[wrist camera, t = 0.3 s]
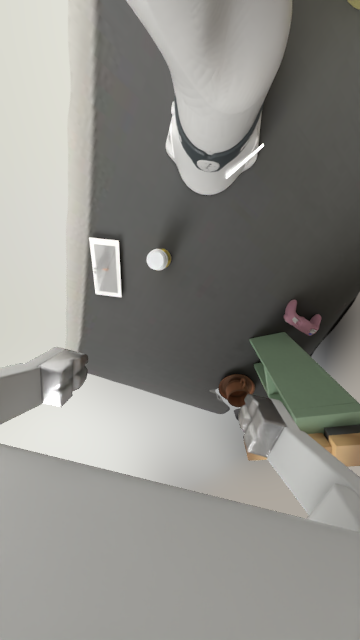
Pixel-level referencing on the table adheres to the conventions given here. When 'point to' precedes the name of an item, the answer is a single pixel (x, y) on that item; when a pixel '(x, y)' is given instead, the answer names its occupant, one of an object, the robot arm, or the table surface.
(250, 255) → the table surface
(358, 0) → the potted cactus
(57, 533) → the robot arm
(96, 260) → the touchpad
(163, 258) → the supplement bottle
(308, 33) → the table surface
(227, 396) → the cup and saucer
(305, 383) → the sage stand
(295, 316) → the video game controller
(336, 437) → the desk brush
